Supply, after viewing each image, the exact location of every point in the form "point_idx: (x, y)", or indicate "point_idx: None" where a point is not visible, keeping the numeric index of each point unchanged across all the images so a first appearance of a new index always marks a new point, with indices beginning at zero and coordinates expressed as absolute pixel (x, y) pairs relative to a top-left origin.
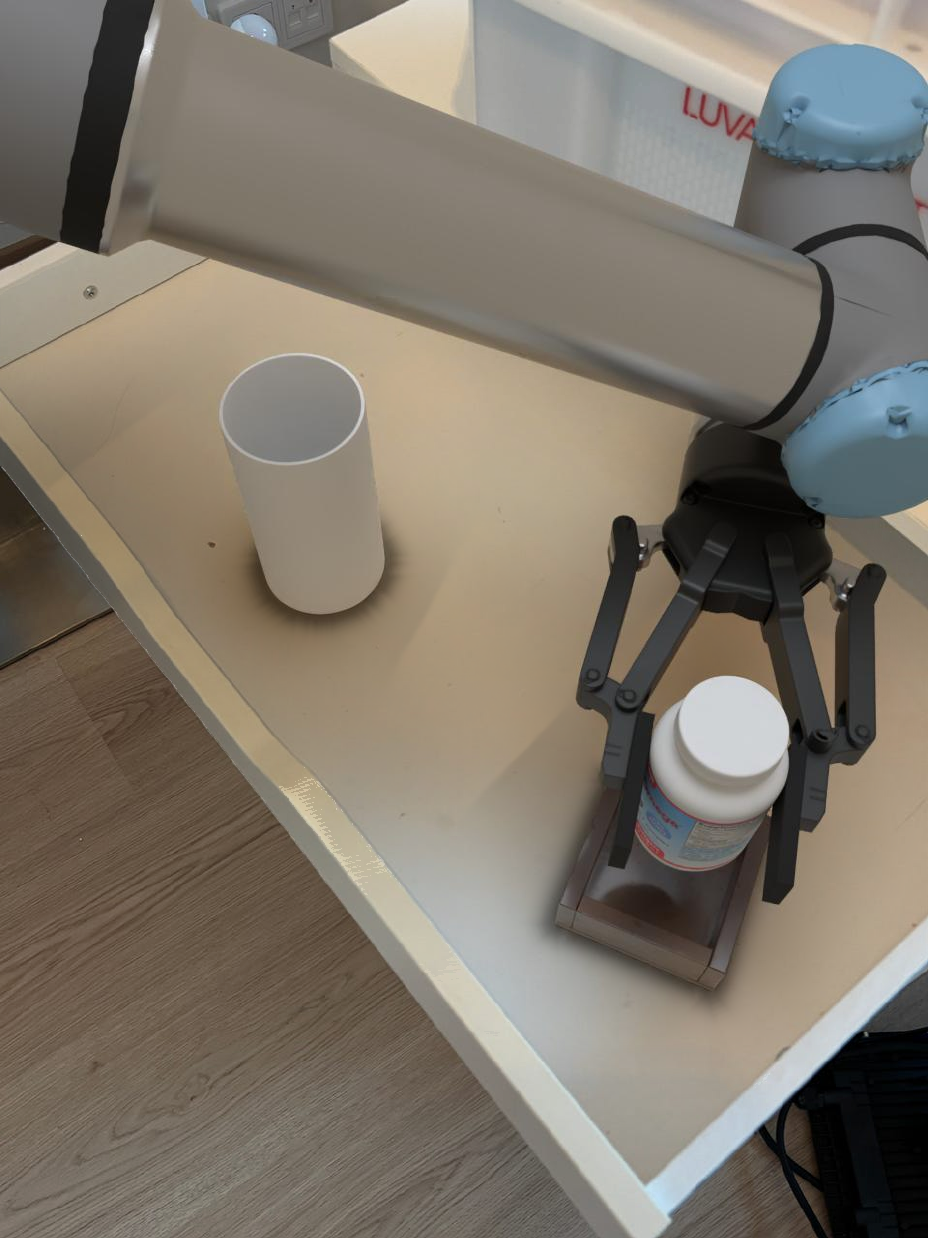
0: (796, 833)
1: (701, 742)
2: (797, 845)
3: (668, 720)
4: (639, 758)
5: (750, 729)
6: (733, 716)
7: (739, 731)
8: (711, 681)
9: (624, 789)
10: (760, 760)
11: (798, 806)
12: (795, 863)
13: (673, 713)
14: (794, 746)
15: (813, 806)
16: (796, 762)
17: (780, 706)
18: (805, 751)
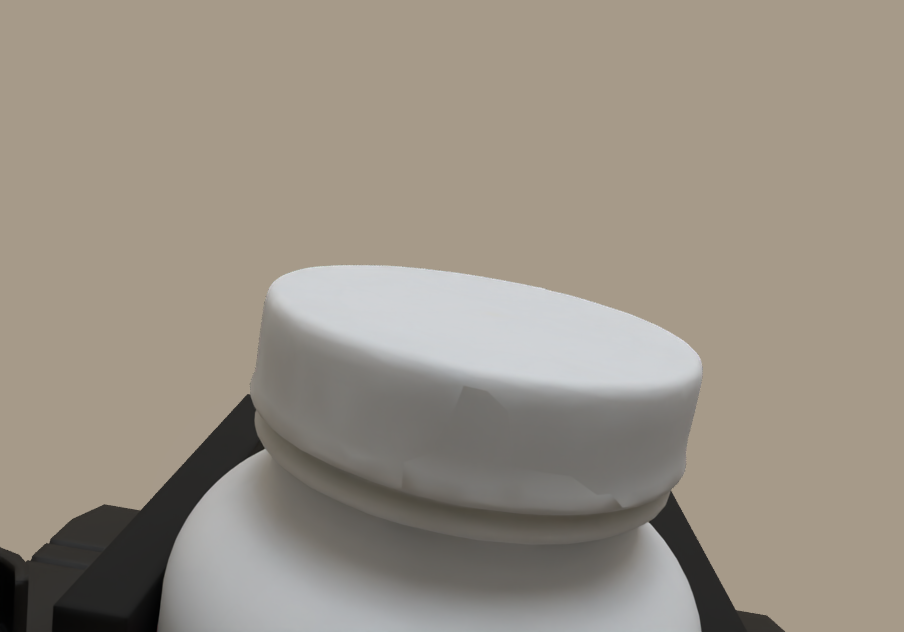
0: (210, 442)
1: (583, 307)
2: (214, 432)
3: (679, 591)
4: (699, 591)
5: (422, 300)
6: (492, 321)
7: (461, 306)
8: (623, 378)
9: (695, 536)
10: (386, 271)
11: (181, 477)
12: (231, 414)
13: (674, 604)
14: (118, 601)
15: (106, 527)
16: (132, 567)
17: (292, 308)
18: (76, 588)
